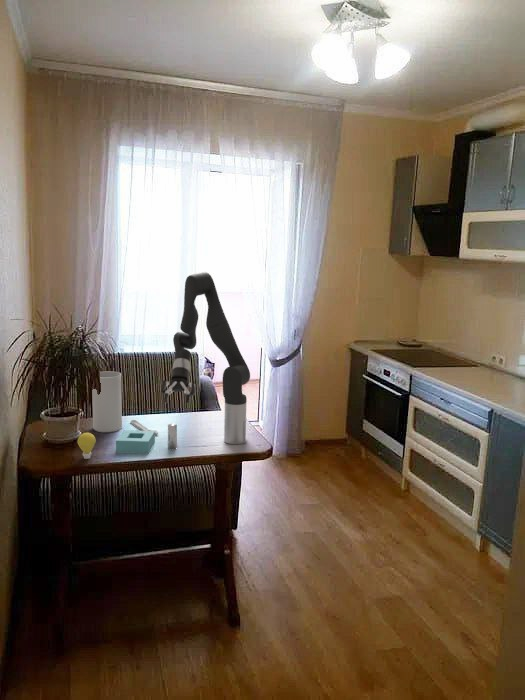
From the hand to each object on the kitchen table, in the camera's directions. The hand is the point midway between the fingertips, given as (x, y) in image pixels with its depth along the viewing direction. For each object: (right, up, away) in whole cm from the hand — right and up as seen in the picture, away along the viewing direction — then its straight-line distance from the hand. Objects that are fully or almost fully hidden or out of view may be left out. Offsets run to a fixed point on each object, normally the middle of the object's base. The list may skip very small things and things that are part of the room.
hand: (176, 403), depth 239 cm
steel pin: (0, -18, -9) cm, 20 cm away
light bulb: (-31, -19, -21) cm, 43 cm away
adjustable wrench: (-17, -14, +14) cm, 26 cm away
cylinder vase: (-33, -13, +14) cm, 38 cm away
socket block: (-15, -17, -9) cm, 25 cm away
